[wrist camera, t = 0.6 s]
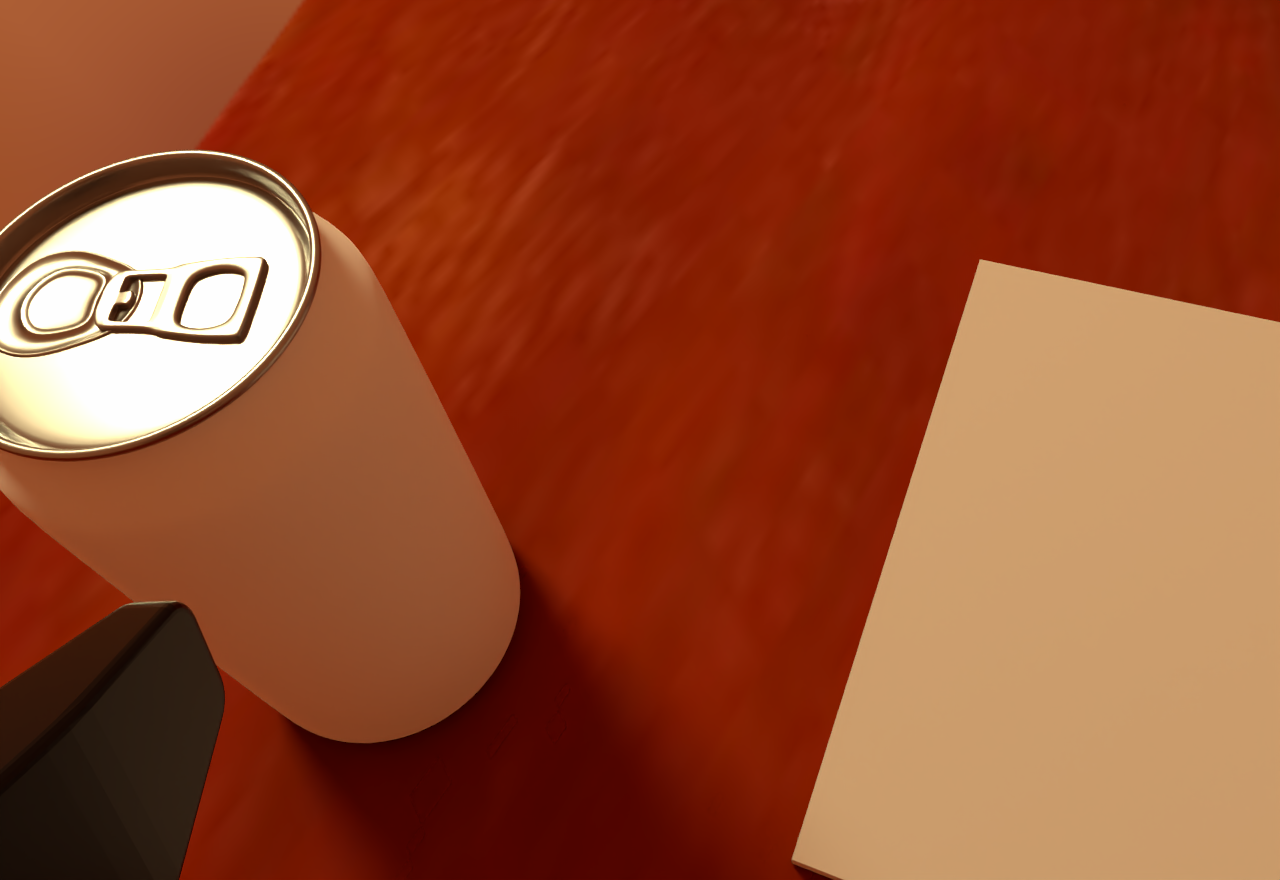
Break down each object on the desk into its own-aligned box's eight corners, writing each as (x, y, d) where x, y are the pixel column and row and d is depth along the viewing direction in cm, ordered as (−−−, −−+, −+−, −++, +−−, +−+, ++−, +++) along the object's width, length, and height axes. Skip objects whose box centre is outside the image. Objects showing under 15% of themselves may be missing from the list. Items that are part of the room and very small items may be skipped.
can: (295, 491, 28) (7, 135, 18) (541, 494, 27) (389, 120, 17) (225, 743, 24) (-179, 484, 14) (504, 756, 23) (285, 490, 13)
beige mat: (1773, 1246, 17) (1794, 1250, 17) (791, 863, 22) (791, 859, 21) (1703, 424, 24) (1716, 414, 24) (977, 269, 29) (980, 258, 28)
